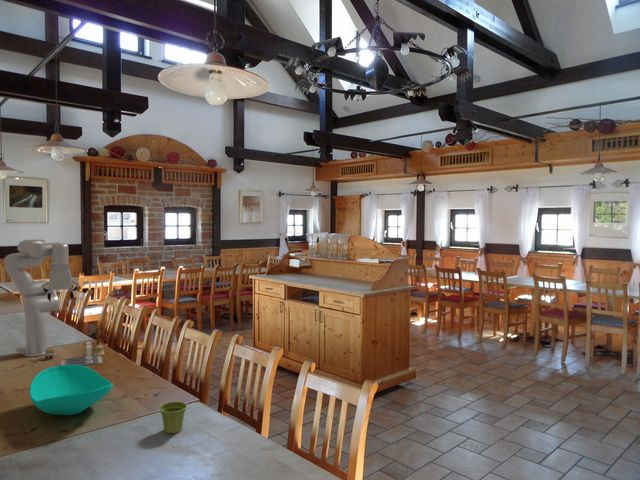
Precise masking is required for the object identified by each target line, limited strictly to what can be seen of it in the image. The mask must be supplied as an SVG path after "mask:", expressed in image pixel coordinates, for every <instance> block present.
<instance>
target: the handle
mask: <svg viewBox="0 0 640 480" xmlns="http://www.w3.org/2000/svg"><path fill="white" fill-rule="evenodd" d="M85 346H92V341H87V342H85ZM86 358H87V357H86Z"/></svg>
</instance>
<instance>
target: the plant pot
mask: <svg viewBox="0 0 640 480" xmlns="http://www.w3.org/2000/svg"><path fill="white" fill-rule="evenodd" d="M187 407H188V405H187V403H186V402H184V401H170V402H165V403H162V404H161V405H160V406H159V411H160V414H161V417H162V418H161V419H162V425H163V432H164V433H166V434H169V435H170V434H177V433H179V432H181V431H182V429H183V423H184V419H185V418H184V417H185V412H186V409H187Z"/></svg>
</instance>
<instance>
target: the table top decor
mask: <svg viewBox="0 0 640 480" xmlns="http://www.w3.org/2000/svg"><path fill="white" fill-rule="evenodd" d="M29 386H30V387H29V393H28V394H29V396H30V400H31V402H32V404H33V405H34V406H35V407H36V408H38V409H39V410H41V411H42V412H45V413H47V414H50V415H59V416H60V415H61V416H73V415H78V414H81V413H82V412H83V411H85V410H86V409H88V408H89V407H91V406H93V405H95V404H96V403H98V402H99V401H102V399H104V398H105V397H106V396H107V395H108V394H109V393H110V392H111V391H112V389H113V387H114V383H112V382H111V381H110V380H108V379H106V378H105V377H103V376H102V375H101V374H99V373H98V372H97V371H96V370H94V369H93V368H90V367H88V366H87V365H85V366H82V365H77V364H66V365H60V364H59V365H54V366H52V367H48V368H46V369H44V370H42V371H40V372H39V373H38V374H37V375H35V377H33V379H32V382H31V384H30V385H29Z"/></svg>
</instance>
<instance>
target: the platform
mask: <svg viewBox="0 0 640 480" xmlns="http://www.w3.org/2000/svg"><path fill="white" fill-rule="evenodd" d="M44 352H45V354H44V355H47V359H48V360H49V359H52V360H53V359H54V355H56V352H55V351H54V349H52V348H51V347H49V348H47V350H46V351H44Z"/></svg>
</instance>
